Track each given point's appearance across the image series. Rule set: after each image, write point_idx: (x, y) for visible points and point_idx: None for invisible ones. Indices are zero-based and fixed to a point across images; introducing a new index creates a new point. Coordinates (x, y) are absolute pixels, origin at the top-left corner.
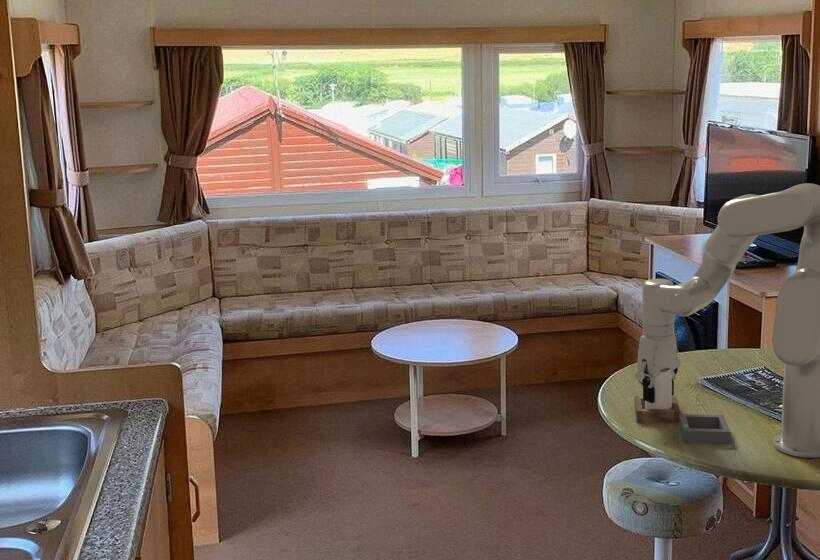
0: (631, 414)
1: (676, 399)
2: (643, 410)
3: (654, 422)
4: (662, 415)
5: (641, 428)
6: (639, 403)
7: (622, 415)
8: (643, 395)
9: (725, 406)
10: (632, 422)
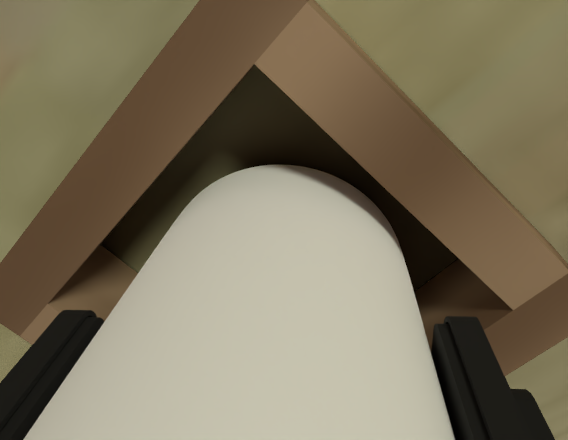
0: (106, 88)
1: (529, 355)
2: (38, 330)
3: None
4: None
5: (7, 330)
6: (118, 186)
7: (15, 48)
8: (36, 350)
9: None
10: (8, 221)
